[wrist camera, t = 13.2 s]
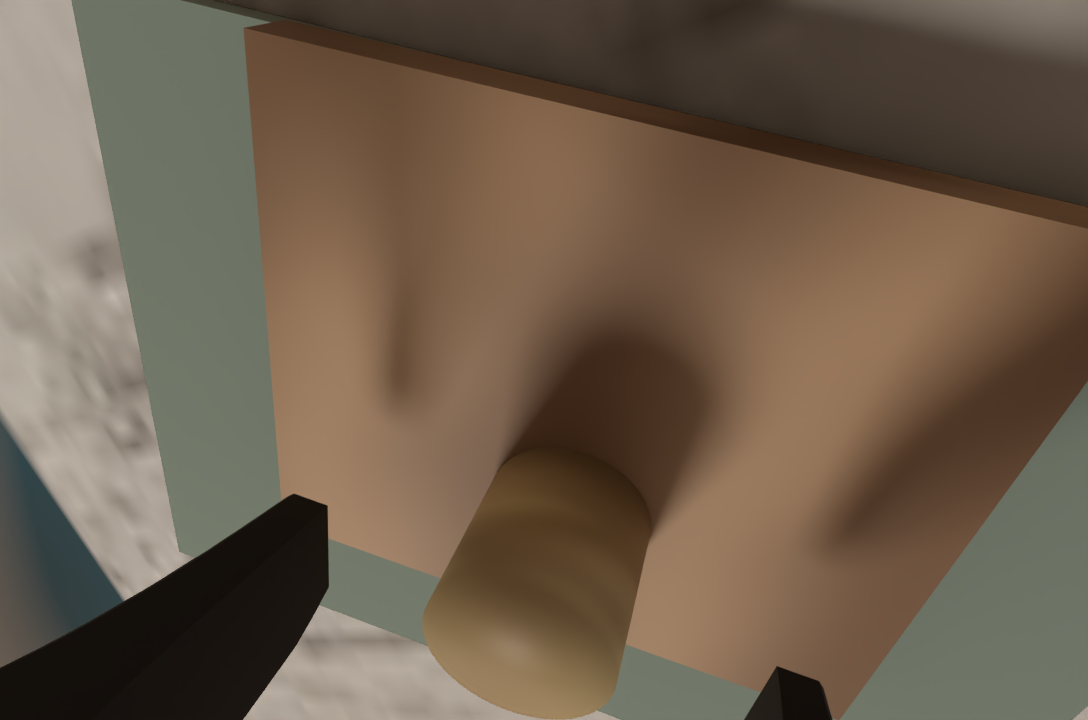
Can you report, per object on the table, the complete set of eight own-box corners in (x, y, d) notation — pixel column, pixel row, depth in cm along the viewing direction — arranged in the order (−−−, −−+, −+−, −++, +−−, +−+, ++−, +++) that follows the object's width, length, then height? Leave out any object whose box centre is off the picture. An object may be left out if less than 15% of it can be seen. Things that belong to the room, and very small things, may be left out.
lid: (1145, 220, 9) (1359, 397, 5) (836, 675, 14) (850, 895, 11) (285, 19, 11) (61, 63, 7) (308, 492, 16) (187, 635, 13)
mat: (1473, 308, 9) (1507, 327, 8) (935, 817, 17) (938, 839, 16) (91, -31, 12) (65, -28, 11) (192, 538, 19) (179, 551, 19)
